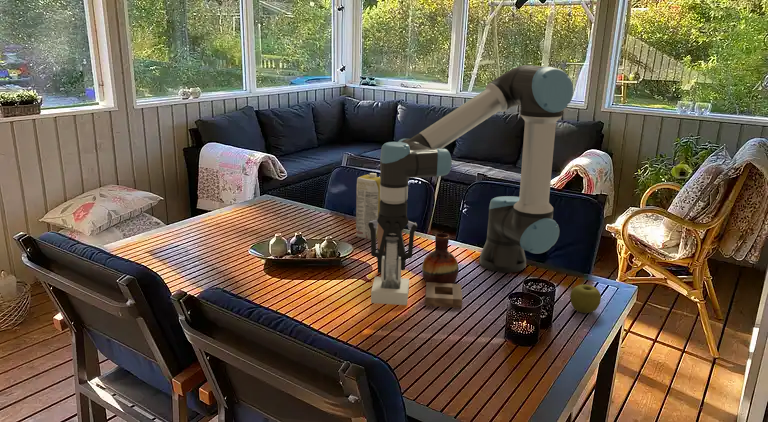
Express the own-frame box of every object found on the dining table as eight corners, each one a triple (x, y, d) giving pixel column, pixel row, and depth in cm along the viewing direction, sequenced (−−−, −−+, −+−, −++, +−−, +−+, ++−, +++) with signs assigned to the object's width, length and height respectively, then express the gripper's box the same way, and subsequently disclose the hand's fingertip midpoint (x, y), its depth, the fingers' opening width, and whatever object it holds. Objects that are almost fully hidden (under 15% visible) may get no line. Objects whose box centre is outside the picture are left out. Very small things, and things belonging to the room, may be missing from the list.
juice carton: (385, 236, 211) (387, 173, 204) (374, 242, 205) (375, 178, 197) (365, 231, 216) (366, 170, 209) (353, 236, 209) (353, 174, 202)
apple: (595, 320, 151) (598, 296, 149) (565, 312, 155) (568, 288, 153) (601, 309, 157) (604, 286, 155) (572, 302, 161) (575, 279, 159)
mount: (460, 295, 164) (460, 284, 163) (461, 311, 154) (462, 299, 153) (425, 293, 165) (426, 282, 164) (425, 308, 155) (425, 297, 154)
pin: (399, 288, 162) (401, 232, 157) (398, 295, 157) (400, 238, 152) (383, 287, 162) (384, 231, 157) (381, 294, 157) (382, 237, 152)
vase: (433, 293, 165) (436, 243, 160) (414, 279, 174) (416, 232, 170) (464, 286, 170) (468, 238, 165) (444, 273, 179) (447, 227, 174)
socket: (408, 292, 165) (409, 278, 163) (406, 308, 155) (407, 293, 154) (374, 290, 165) (375, 276, 164) (370, 306, 156) (371, 291, 154)
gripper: (425, 197, 154) (421, 276, 161) (363, 194, 156) (362, 272, 163) (424, 205, 147) (420, 287, 154) (360, 202, 149) (359, 283, 156)
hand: (391, 279), depth 158 cm, fingers closed on pin, 4 cm apart
